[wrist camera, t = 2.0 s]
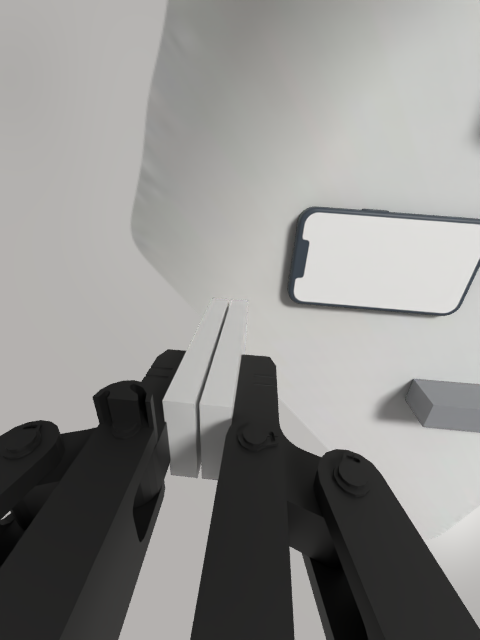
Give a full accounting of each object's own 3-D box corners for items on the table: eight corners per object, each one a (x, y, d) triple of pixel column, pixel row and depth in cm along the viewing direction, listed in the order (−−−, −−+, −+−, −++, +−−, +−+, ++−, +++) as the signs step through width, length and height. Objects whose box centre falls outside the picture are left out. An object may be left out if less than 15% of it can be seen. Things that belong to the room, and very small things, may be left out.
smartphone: (488, 217, 23) (299, 203, 23) (503, 219, 22) (302, 204, 22) (445, 311, 27) (285, 298, 27) (456, 319, 26) (286, 304, 26)
